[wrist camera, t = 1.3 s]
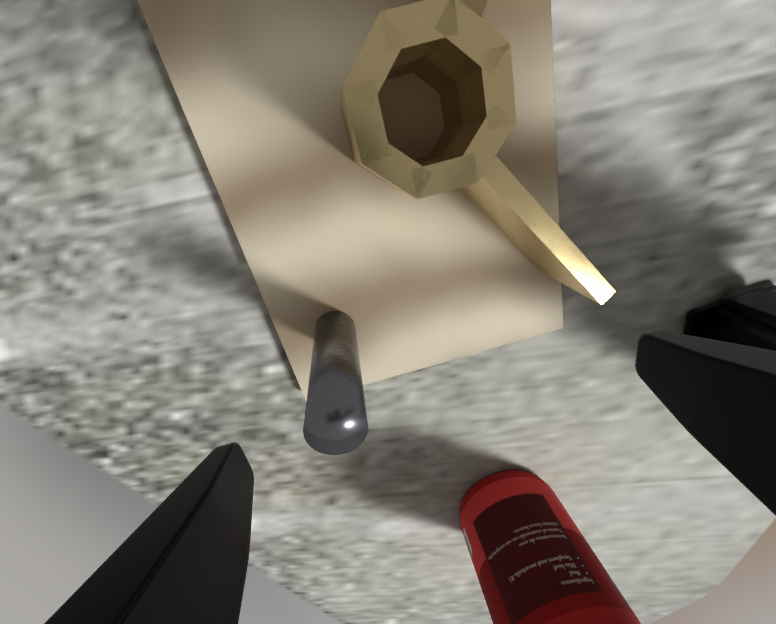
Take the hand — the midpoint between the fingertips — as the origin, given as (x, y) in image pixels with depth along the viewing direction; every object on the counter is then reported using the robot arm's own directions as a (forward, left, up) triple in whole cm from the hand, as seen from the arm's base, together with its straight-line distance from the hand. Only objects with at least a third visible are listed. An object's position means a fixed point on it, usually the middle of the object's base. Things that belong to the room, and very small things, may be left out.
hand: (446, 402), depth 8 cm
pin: (-3, +3, -12) cm, 13 cm away
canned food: (-22, -5, -13) cm, 26 cm away
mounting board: (+4, -2, -13) cm, 13 cm away
